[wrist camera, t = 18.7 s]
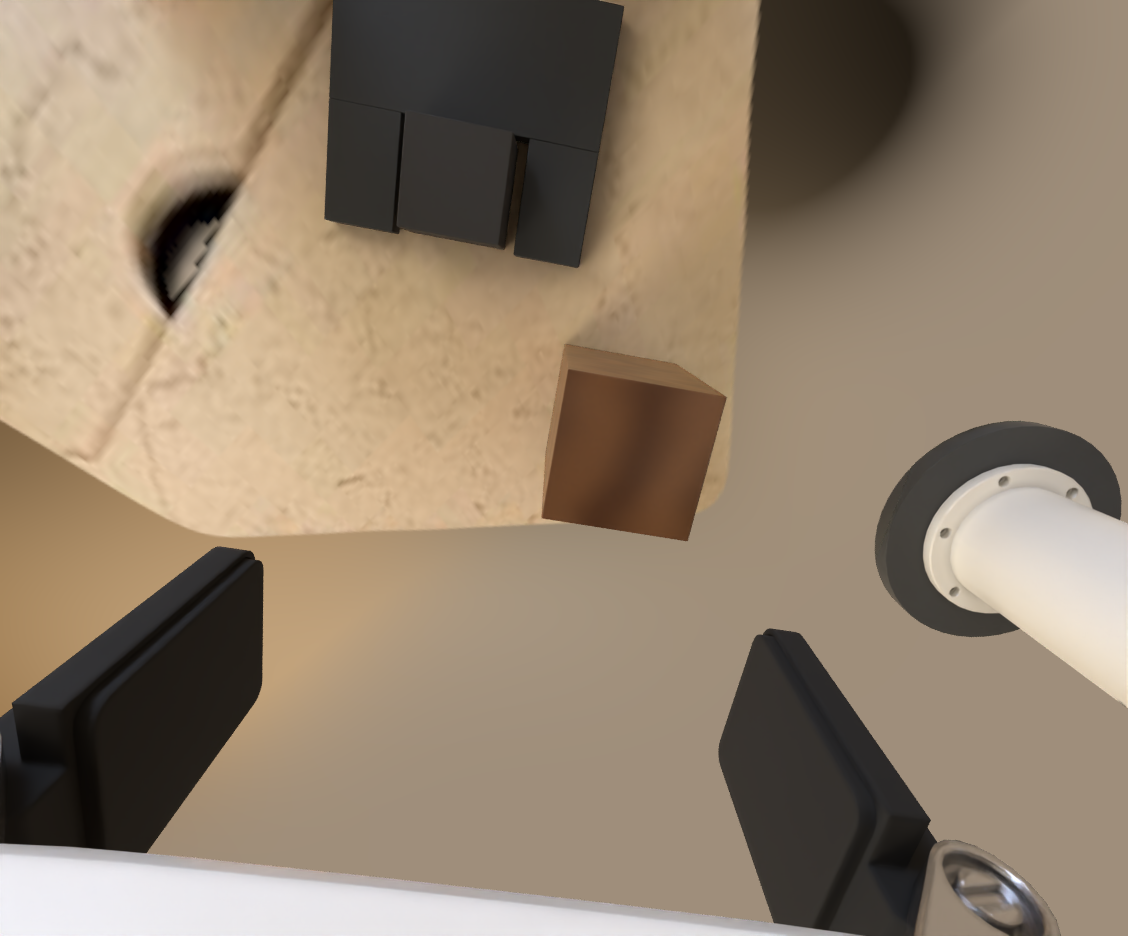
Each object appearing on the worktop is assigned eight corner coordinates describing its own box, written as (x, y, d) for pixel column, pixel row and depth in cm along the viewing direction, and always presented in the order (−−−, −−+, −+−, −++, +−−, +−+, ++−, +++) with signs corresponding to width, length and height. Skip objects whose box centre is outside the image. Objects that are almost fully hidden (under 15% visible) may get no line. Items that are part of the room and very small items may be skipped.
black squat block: (518, 148, 35) (513, 131, 31) (504, 249, 36) (498, 246, 33) (421, 128, 34) (405, 109, 30) (413, 232, 36) (396, 226, 32)
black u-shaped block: (621, 17, 33) (624, 5, 31) (577, 268, 37) (578, 267, 35) (345, -43, 32) (335, -59, 30) (333, 221, 36) (324, 219, 34)
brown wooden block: (677, 364, 39) (727, 396, 28) (651, 470, 41) (687, 541, 30) (564, 343, 38) (567, 368, 27) (545, 453, 41) (541, 518, 29)
